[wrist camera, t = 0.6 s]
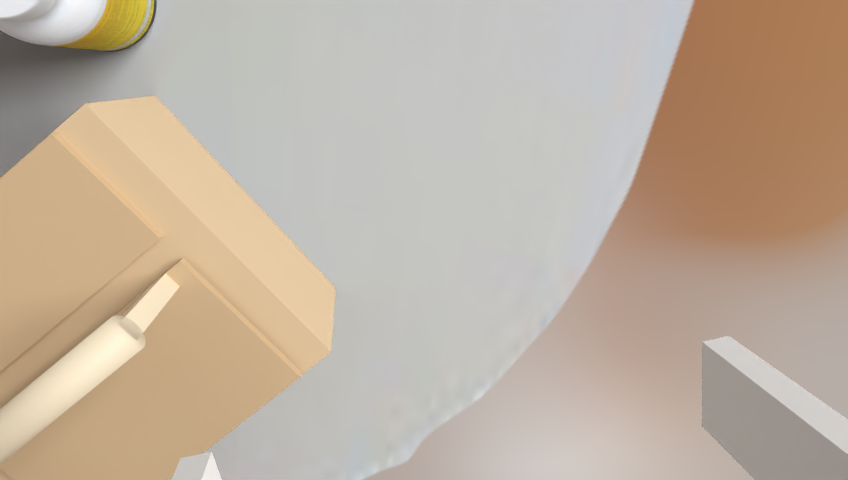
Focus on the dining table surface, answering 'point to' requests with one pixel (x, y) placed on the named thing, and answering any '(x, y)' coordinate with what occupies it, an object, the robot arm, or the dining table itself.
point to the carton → (138, 240)
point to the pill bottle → (79, 22)
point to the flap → (144, 388)
